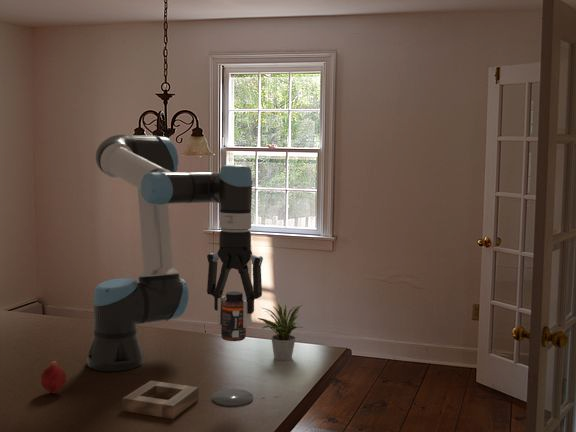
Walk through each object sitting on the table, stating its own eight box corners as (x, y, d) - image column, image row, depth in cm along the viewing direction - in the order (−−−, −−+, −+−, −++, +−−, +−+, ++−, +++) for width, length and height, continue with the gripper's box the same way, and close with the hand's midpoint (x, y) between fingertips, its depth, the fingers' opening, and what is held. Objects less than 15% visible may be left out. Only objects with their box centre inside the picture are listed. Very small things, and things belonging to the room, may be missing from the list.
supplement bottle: (242, 343, 161) (242, 296, 160) (218, 341, 162) (218, 294, 161) (248, 336, 167) (249, 291, 166) (225, 334, 168) (225, 289, 167)
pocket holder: (122, 410, 157) (122, 398, 156) (150, 392, 169) (150, 380, 169) (173, 418, 153) (173, 405, 152) (198, 399, 165) (198, 387, 165)
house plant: (281, 346, 211) (282, 295, 209) (317, 356, 202) (318, 302, 200) (250, 357, 200) (251, 302, 198) (286, 367, 191) (288, 310, 189)
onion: (51, 399, 163) (51, 367, 162) (35, 394, 166) (35, 362, 165) (71, 392, 168) (70, 360, 167) (55, 387, 171) (55, 356, 170)
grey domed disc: (205, 402, 163) (205, 400, 163) (221, 389, 172) (221, 386, 172) (243, 408, 160) (244, 406, 160) (258, 394, 169) (258, 392, 169)
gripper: (192, 229, 161) (191, 324, 164) (267, 234, 156) (265, 333, 158) (205, 226, 169) (204, 317, 171) (277, 230, 163) (275, 325, 165)
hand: (233, 324), depth 164 cm, fingers closed on supplement bottle, 6 cm apart
